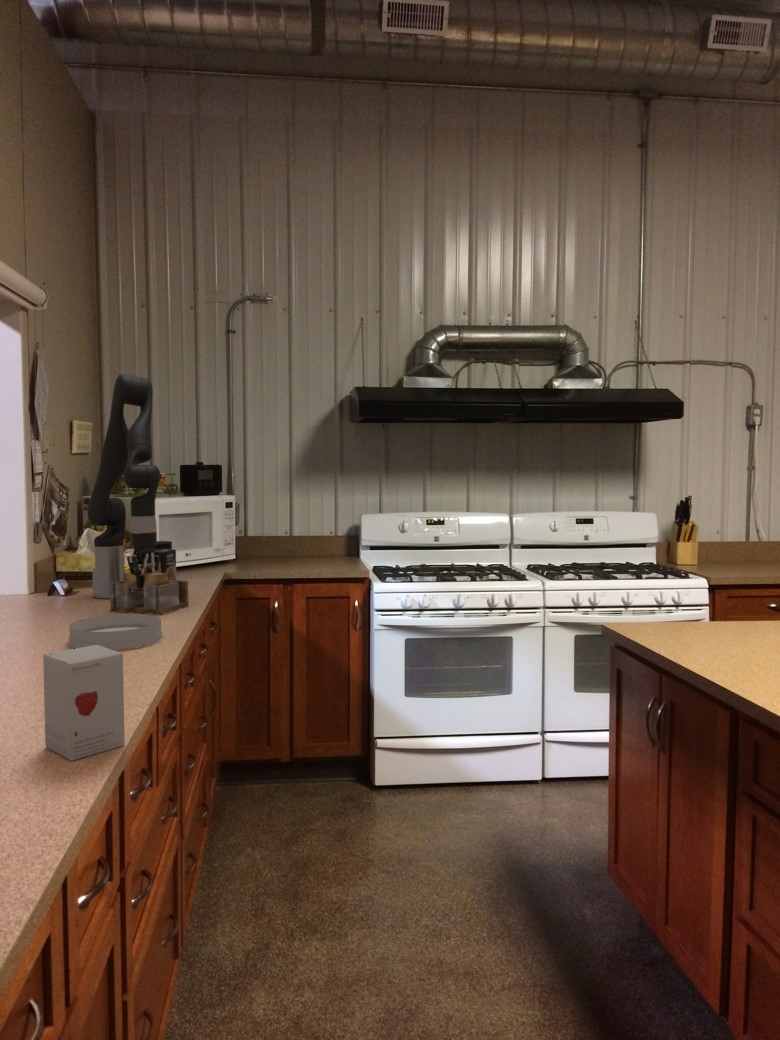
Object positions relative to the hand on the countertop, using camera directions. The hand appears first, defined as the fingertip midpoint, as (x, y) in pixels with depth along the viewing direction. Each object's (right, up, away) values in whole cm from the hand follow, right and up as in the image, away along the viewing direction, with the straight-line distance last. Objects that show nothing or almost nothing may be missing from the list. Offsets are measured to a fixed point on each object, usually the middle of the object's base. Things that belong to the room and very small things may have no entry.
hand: (145, 586), depth 226 cm
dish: (+5, -11, -38) cm, 40 cm away
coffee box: (-1, -6, +20) cm, 21 cm away
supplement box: (+27, -16, -109) cm, 113 cm away
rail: (0, 0, 0) cm, 0 cm away
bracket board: (+1, -7, +3) cm, 8 cm away
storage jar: (-13, -3, +57) cm, 58 cm away
